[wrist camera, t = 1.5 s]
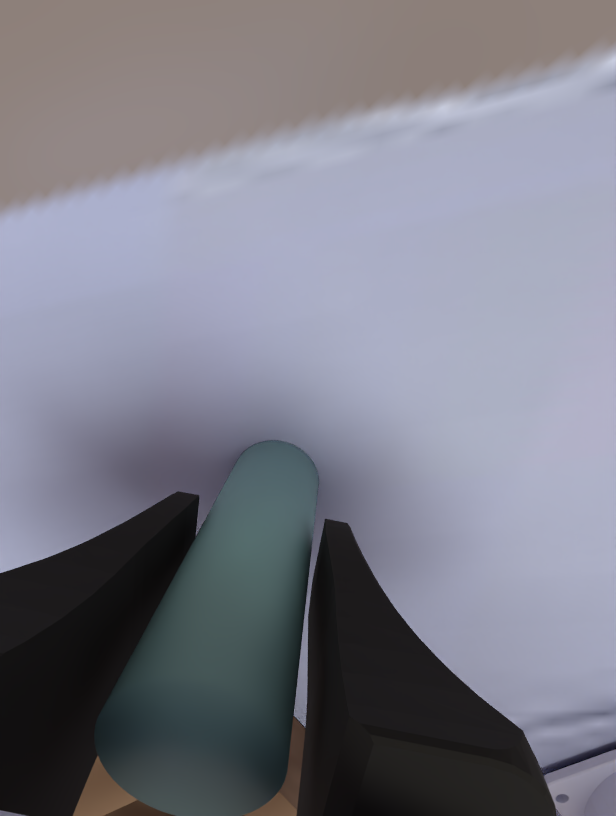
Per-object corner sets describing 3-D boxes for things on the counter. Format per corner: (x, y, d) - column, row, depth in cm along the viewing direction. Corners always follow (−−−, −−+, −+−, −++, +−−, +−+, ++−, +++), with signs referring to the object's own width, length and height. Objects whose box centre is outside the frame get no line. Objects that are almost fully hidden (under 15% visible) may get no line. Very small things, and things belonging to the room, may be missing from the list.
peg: (335, 491, 15) (327, 780, 7) (267, 532, 16) (180, 841, 7) (284, 424, 15) (202, 647, 6) (216, 469, 15) (54, 727, 7)
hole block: (355, 783, 19) (357, 871, 17) (188, 850, 22) (165, 937, 19) (215, 630, 17) (191, 701, 15) (47, 722, 20) (-3, 799, 17)
